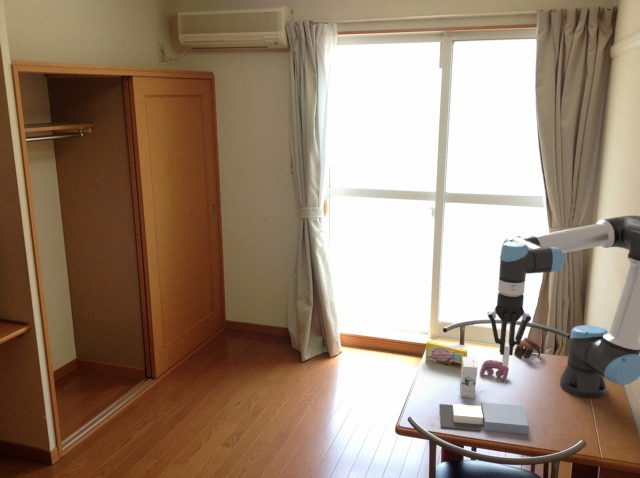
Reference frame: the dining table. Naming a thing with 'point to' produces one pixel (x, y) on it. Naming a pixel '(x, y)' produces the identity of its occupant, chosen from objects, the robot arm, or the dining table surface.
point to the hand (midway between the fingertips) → (505, 363)
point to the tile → (467, 414)
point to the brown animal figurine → (526, 348)
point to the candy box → (444, 355)
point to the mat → (449, 423)
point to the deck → (504, 418)
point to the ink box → (468, 377)
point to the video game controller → (497, 365)
